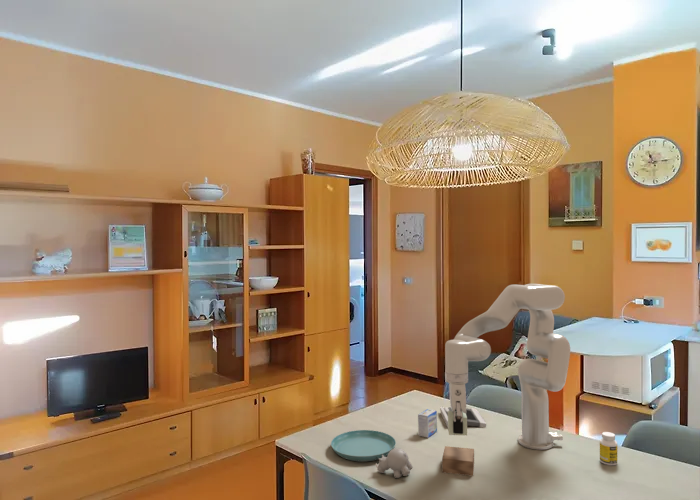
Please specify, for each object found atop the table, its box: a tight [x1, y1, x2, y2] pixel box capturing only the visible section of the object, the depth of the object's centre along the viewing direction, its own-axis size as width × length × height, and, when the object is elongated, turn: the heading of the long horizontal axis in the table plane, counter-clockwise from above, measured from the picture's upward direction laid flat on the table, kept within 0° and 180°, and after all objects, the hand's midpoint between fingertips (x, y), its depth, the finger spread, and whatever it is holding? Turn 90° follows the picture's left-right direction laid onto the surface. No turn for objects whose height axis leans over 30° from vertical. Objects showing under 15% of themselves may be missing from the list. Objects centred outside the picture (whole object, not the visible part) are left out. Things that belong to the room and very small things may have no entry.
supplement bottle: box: [599, 431, 618, 466], centre depth 170 cm, size 5×5×10 cm
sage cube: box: [447, 411, 468, 436], centre depth 169 cm, size 6×6×6 cm
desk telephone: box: [439, 406, 487, 428], centre depth 212 cm, size 17×5×16 cm
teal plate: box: [330, 429, 397, 463], centre depth 185 cm, size 24×24×3 cm
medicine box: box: [417, 408, 438, 439], centre depth 198 cm, size 8×4×9 cm, turn 143°
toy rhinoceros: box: [375, 447, 414, 479], centre depth 166 cm, size 7×12×8 cm, turn 65°
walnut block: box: [441, 445, 475, 477], centre depth 169 cm, size 10×10×5 cm
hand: (457, 428), depth 169 cm, fingers closed on sage cube, 6 cm apart
